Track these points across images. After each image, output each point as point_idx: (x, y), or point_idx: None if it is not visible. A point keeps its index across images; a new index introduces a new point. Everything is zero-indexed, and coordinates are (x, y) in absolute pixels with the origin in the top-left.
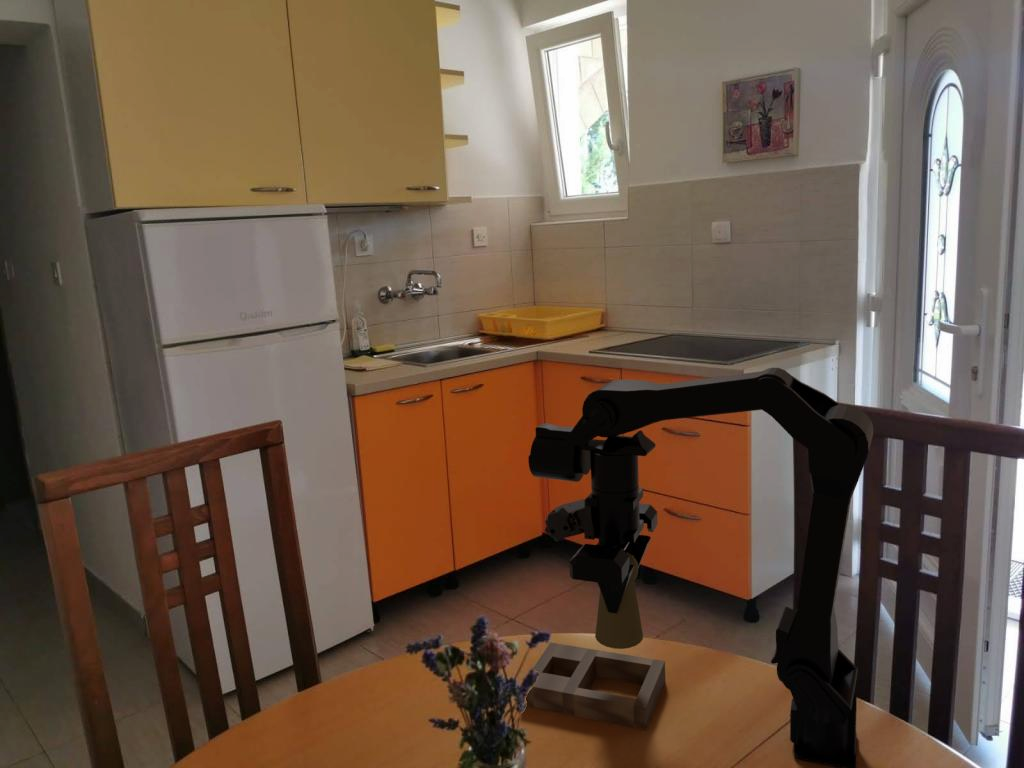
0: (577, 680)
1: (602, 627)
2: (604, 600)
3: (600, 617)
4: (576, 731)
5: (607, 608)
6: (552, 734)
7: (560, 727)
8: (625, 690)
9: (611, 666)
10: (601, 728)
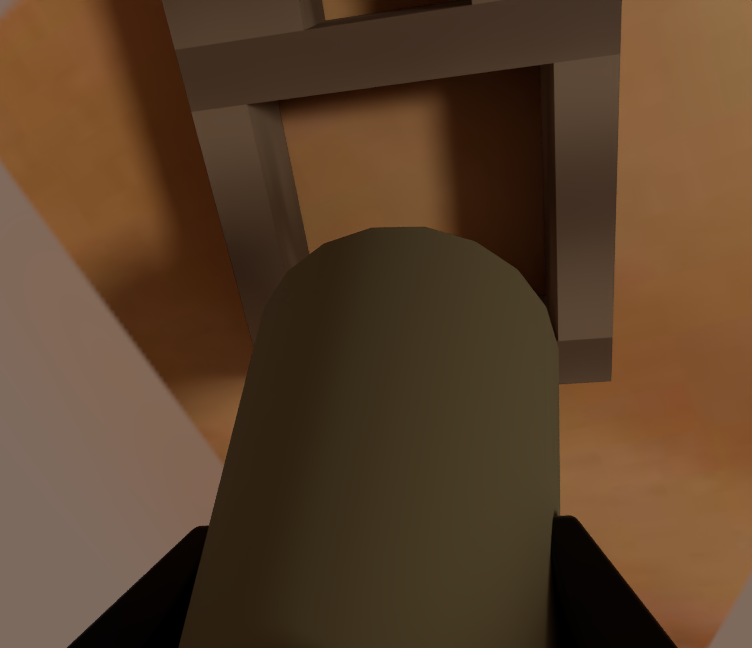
0: (300, 76)
1: (246, 377)
2: (102, 618)
3: (248, 396)
4: (151, 142)
5: (168, 555)
6: (81, 61)
7: (134, 70)
8: (479, 214)
9: (549, 145)
10: (218, 219)
